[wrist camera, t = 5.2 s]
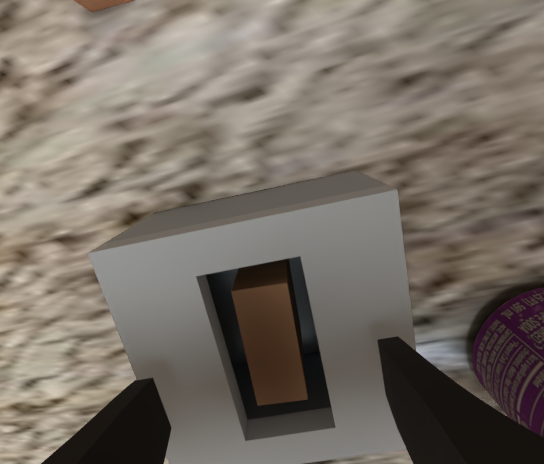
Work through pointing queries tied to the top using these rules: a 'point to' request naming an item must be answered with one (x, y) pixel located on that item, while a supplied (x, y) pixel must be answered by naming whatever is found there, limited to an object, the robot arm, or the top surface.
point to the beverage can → (515, 358)
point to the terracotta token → (100, 4)
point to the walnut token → (271, 331)
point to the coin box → (225, 328)
